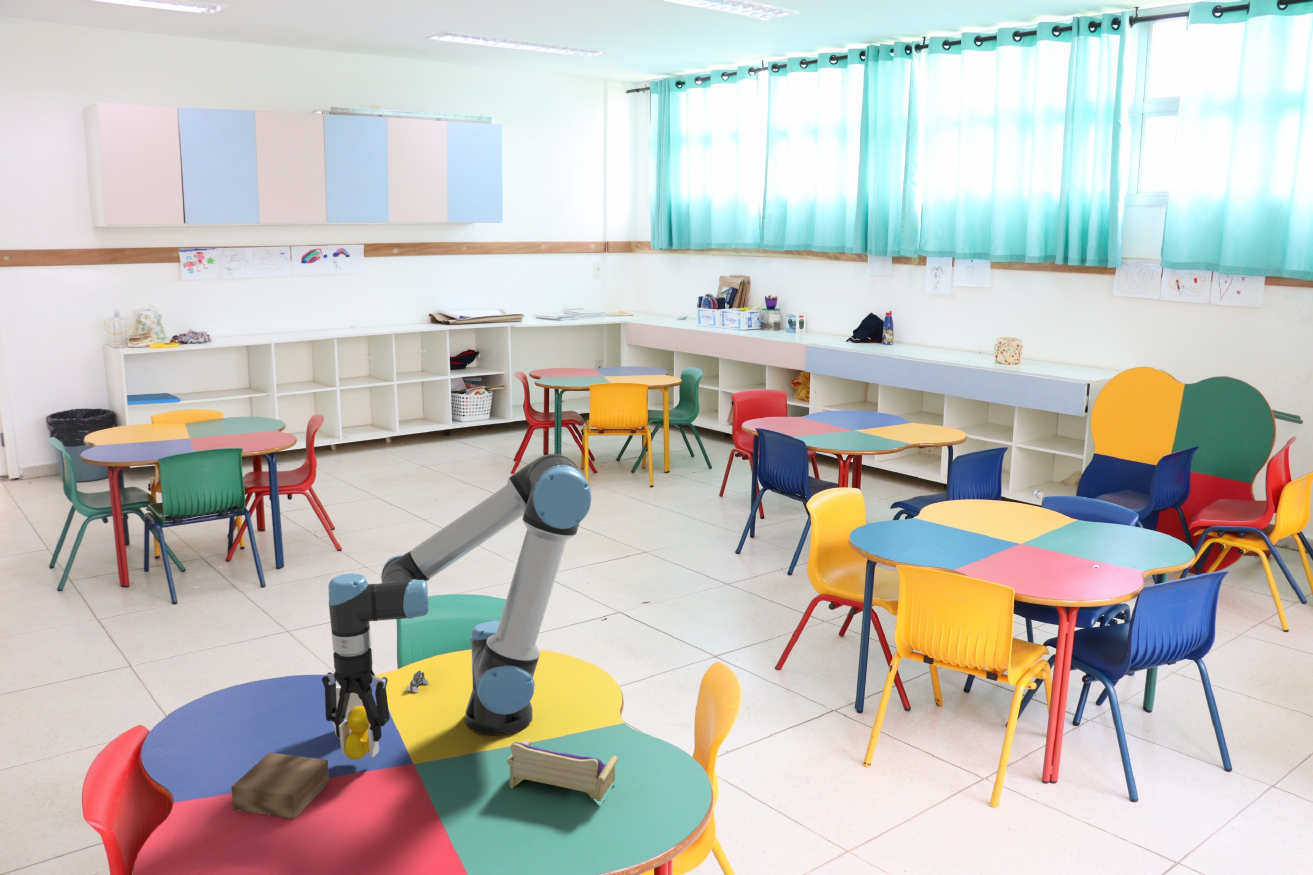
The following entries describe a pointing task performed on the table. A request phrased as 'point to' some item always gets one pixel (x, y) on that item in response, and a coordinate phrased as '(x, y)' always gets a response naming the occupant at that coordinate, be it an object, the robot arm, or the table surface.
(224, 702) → the table surface
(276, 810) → the walnut base
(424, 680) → the grey toy animal
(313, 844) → the table surface
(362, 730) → the duckling
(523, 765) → the toy sofa
